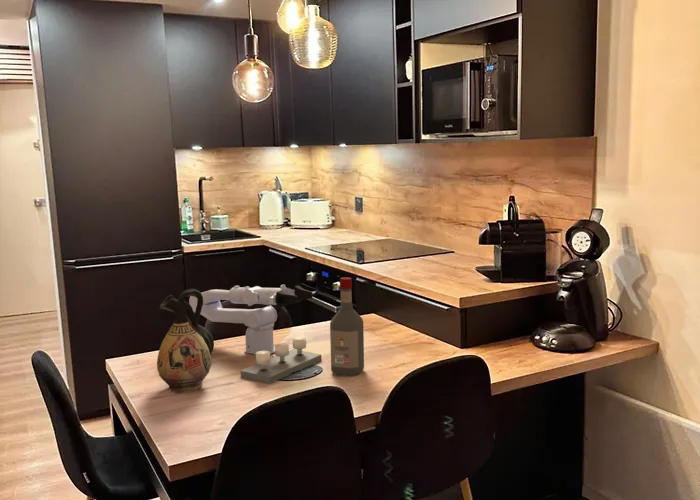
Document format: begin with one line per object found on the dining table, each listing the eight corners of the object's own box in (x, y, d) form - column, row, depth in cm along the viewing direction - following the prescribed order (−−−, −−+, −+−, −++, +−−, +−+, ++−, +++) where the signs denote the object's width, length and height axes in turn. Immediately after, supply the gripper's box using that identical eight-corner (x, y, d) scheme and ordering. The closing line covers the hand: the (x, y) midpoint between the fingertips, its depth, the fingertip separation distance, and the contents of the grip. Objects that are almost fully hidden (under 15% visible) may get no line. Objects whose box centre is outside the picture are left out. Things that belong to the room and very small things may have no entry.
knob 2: (290, 353, 216) (289, 339, 216) (298, 350, 220) (298, 336, 219) (300, 355, 214) (300, 341, 213) (308, 352, 218) (308, 337, 217)
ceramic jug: (162, 400, 184) (156, 297, 180) (155, 383, 198) (149, 287, 194) (222, 391, 191) (217, 290, 186) (211, 375, 205) (206, 281, 200)
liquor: (356, 377, 200) (354, 281, 195) (328, 375, 203) (326, 280, 198) (366, 368, 208) (364, 276, 204) (339, 365, 211) (337, 275, 207)
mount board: (240, 376, 203) (240, 370, 202) (293, 354, 224) (293, 349, 224) (270, 383, 196) (269, 377, 196) (321, 360, 217) (321, 354, 217)
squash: (196, 335, 231) (174, 310, 220) (228, 342, 223) (207, 317, 213) (174, 369, 223) (150, 345, 213) (207, 378, 216) (184, 354, 205)
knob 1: (253, 369, 202) (252, 353, 201) (262, 365, 205) (262, 349, 205) (264, 371, 199) (263, 355, 199) (273, 367, 203) (273, 352, 202)
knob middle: (272, 361, 209) (271, 346, 208) (281, 357, 213) (280, 342, 212) (283, 363, 207) (282, 348, 206) (291, 359, 210) (291, 344, 210)
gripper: (257, 288, 215) (289, 289, 208) (285, 281, 227) (316, 281, 220) (259, 309, 216) (291, 310, 208) (287, 300, 228) (318, 301, 220)
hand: (304, 297), depth 214 cm, fingers open, 7 cm apart
